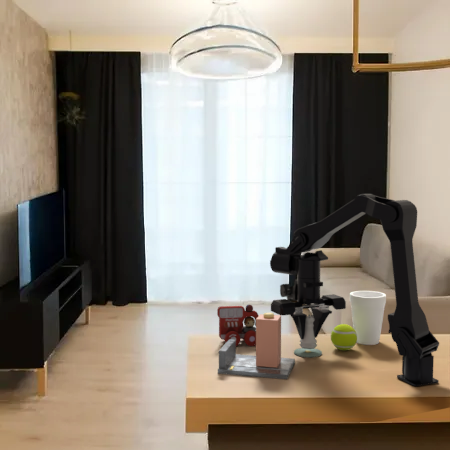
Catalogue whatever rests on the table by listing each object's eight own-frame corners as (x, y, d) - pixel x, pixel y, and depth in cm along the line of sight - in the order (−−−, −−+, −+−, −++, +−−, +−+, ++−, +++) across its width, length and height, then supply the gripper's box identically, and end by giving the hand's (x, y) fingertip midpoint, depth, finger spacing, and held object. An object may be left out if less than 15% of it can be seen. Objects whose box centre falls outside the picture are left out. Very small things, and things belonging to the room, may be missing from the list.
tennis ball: (345, 355, 154) (345, 329, 154) (325, 349, 159) (325, 323, 159) (362, 350, 158) (362, 325, 158) (342, 344, 164) (342, 319, 163)
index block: (280, 360, 146) (281, 311, 145) (277, 367, 141) (277, 317, 140) (260, 359, 147) (260, 310, 146) (255, 365, 142) (255, 315, 141)
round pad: (327, 355, 154) (327, 353, 154) (302, 358, 151) (302, 356, 151) (312, 348, 160) (312, 346, 160) (289, 351, 158) (289, 349, 158)
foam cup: (346, 336, 171) (347, 290, 170) (380, 336, 171) (381, 290, 170) (352, 346, 162) (353, 297, 161) (388, 346, 161) (389, 297, 160)
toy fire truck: (266, 346, 163) (266, 307, 162) (219, 348, 161) (219, 309, 160) (260, 338, 170) (260, 301, 169) (215, 341, 168) (215, 303, 167)
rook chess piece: (296, 347, 155) (296, 316, 154) (303, 343, 159) (303, 312, 158) (313, 350, 153) (313, 318, 152) (319, 345, 157) (320, 314, 156)
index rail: (294, 362, 148) (294, 342, 148) (287, 379, 137) (287, 357, 136) (230, 357, 152) (230, 338, 152) (217, 373, 141) (217, 352, 140)
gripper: (323, 269, 165) (323, 326, 166) (261, 274, 158) (261, 334, 159) (347, 276, 155) (346, 337, 156) (281, 281, 148) (281, 345, 149)
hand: (308, 338), depth 155 cm, fingers closed on rook chess piece, 3 cm apart
